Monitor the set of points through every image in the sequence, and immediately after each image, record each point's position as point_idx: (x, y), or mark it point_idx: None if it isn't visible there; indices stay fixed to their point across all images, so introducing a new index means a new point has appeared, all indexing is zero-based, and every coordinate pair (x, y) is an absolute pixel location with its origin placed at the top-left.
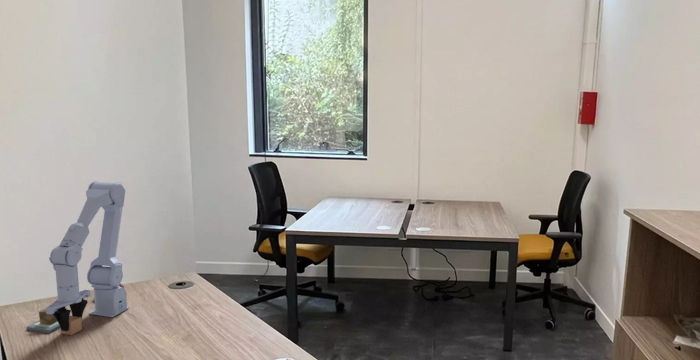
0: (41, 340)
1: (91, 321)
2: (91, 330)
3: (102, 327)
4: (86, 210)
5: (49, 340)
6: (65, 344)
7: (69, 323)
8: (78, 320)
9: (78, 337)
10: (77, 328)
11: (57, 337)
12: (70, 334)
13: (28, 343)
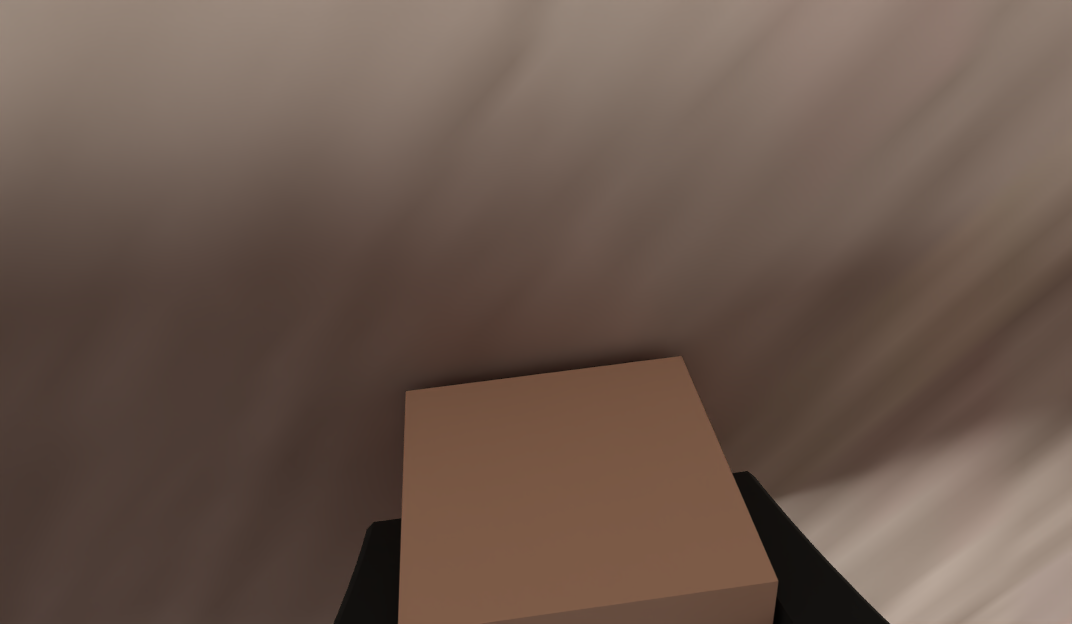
0: (914, 573)
1: (46, 530)
2: (310, 209)
3: (40, 104)
4: None
5: (900, 496)
6: (1027, 147)
7: (766, 582)
8: (499, 573)
9: (690, 176)
10: (530, 425)
11: (783, 485)
12: (685, 382)
13: (1016, 620)
